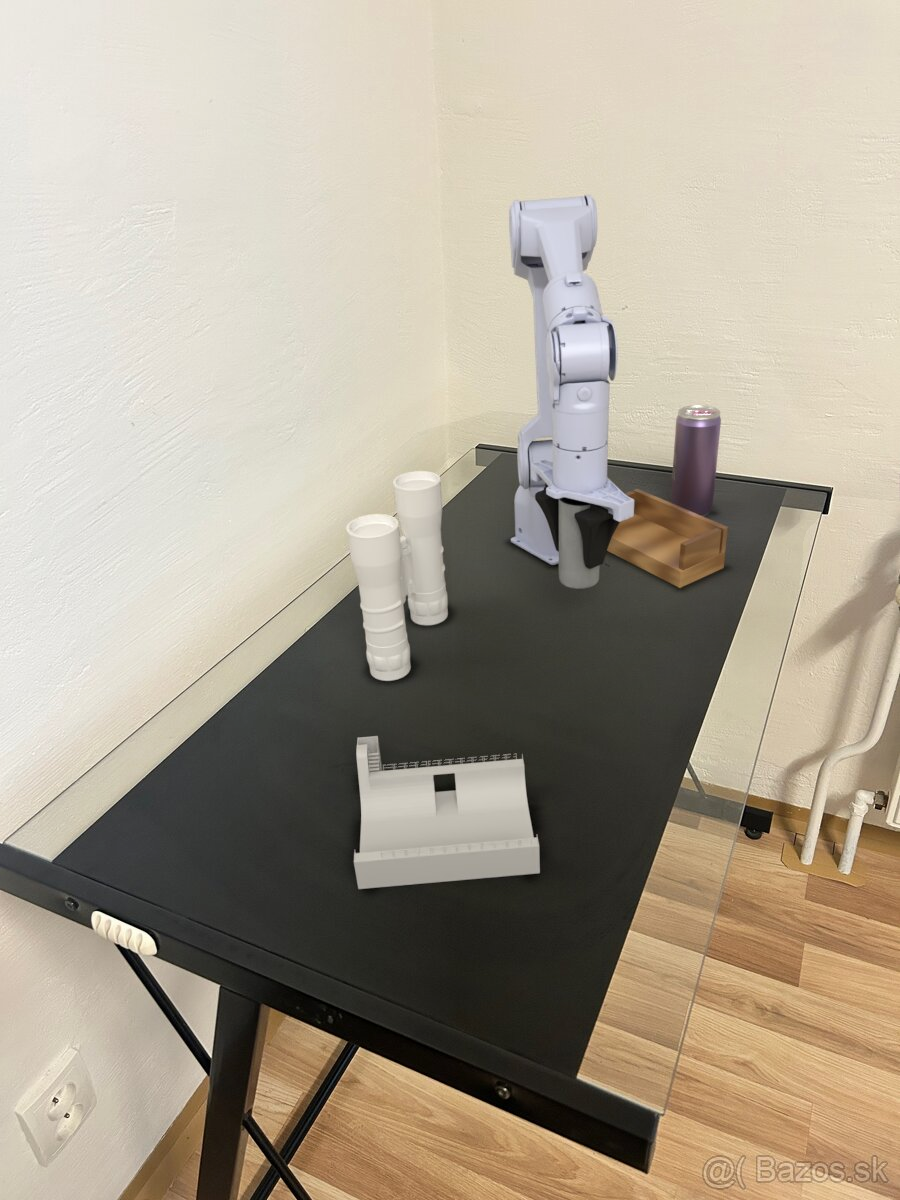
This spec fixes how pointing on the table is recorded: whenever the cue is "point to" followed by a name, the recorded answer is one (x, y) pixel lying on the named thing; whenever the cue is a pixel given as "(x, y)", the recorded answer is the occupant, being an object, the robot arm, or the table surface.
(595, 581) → the grey tube
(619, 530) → the wooden tray
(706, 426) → the beverage can
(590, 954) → the table surface
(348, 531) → the binoculars
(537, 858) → the skate ramp
